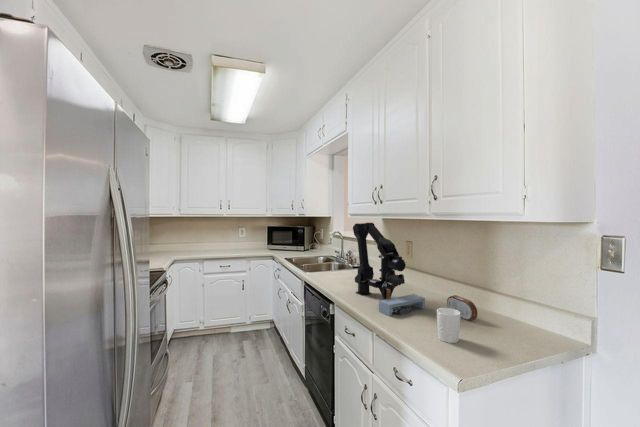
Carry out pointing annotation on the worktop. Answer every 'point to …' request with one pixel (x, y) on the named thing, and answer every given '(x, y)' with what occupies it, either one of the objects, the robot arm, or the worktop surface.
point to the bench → (400, 303)
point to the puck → (395, 309)
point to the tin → (463, 307)
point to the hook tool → (402, 309)
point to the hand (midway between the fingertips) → (387, 299)
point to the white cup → (448, 324)
